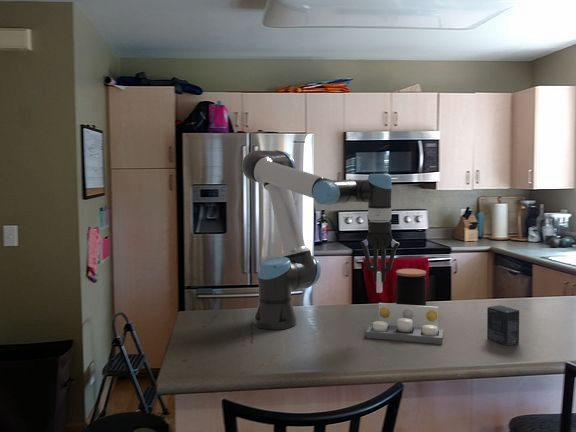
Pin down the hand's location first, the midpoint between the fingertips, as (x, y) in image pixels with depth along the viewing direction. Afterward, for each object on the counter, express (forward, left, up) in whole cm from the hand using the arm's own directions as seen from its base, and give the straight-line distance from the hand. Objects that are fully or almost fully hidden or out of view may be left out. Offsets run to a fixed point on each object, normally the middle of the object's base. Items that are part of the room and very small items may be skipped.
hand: (379, 291), depth 171 cm
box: (+38, +4, -15) cm, 41 cm away
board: (+8, 0, -14) cm, 17 cm away
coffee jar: (+8, +20, -15) cm, 26 cm away
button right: (+16, 0, -14) cm, 21 cm away
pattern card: (+8, +10, -14) cm, 19 cm away
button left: (0, 0, -14) cm, 14 cm away
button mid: (+8, 0, -12) cm, 15 cm away
